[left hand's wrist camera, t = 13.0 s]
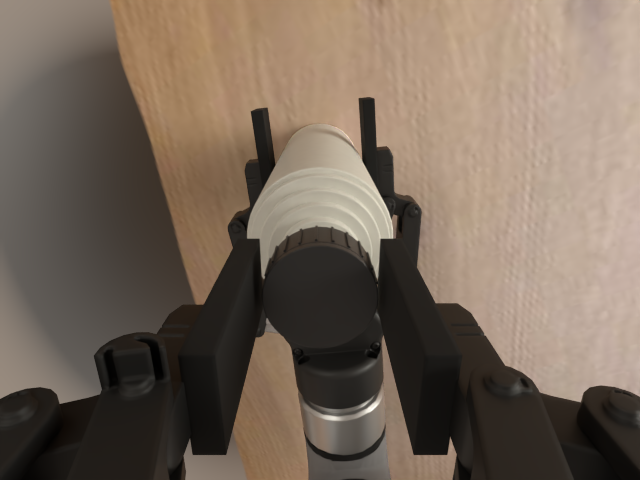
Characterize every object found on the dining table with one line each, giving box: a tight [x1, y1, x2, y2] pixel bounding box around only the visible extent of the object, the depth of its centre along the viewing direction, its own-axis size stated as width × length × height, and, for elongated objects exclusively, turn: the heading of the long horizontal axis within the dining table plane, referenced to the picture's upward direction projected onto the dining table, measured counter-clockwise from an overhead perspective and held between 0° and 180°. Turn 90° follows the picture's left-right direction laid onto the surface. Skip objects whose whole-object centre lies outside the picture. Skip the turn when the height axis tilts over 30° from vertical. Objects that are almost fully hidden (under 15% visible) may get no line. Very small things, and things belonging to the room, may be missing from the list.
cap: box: [262, 225, 378, 348], centre depth 14 cm, size 4×4×2 cm
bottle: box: [247, 123, 393, 279], centre depth 24 cm, size 6×6×24 cm
